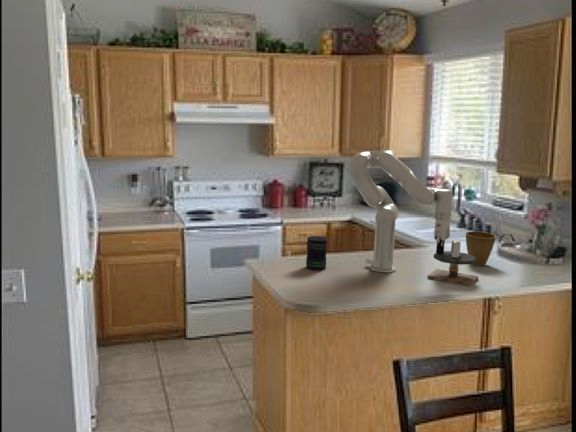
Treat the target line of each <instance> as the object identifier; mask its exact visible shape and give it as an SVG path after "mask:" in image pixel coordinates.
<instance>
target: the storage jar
mask: <svg viewBox="0 0 576 432" xmlns="http://www.w3.org/2000/svg"><path fill="white" fill-rule="evenodd" d="M306 250H307V252H306V253H307V254H306V258H305V259H306V260H305V261H306V262H305V264H306V266H305V268H306V269H307V270H309V271H313V272H320V271H326V268H327V267H326V266H327V250H328V237H325V236H319V235H315V236H313V235H312V236H308V237H307V242H306Z"/></svg>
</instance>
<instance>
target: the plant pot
mask: <svg viewBox="0 0 576 432" xmlns="http://www.w3.org/2000/svg"><path fill="white" fill-rule="evenodd" d="M496 239H497V236H496V234H493V233H489V232H484V231H477V230H475V231H473V230H472V231H467V232H465V242H466V243H465V245H466V250H467V252H466V253H467V254H470V255H472V256H474V257H476V262H474V263H473V264H471V265H473V266H477V267H483V266H486V264H487V262H488V260H489V258H490V257H491V253H492V251H493V248H494V244H495V241H496Z"/></svg>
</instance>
